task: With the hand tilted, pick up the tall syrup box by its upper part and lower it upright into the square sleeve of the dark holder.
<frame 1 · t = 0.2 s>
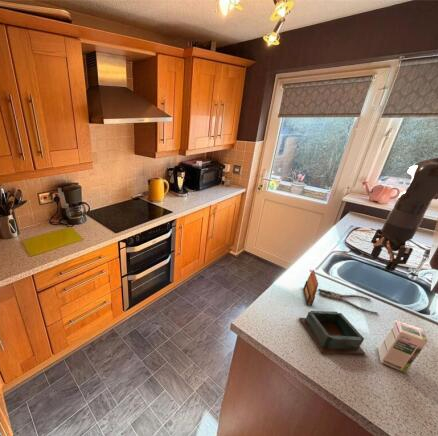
hand: (381, 263, 83), 25 cm above the worktop, tool pointing down, fingers open, 8 cm apart
pliers: (347, 302, 99), on the worktop
orange brown flat panel: (307, 297, 102), on the worktop
holder: (328, 336, 84), on the worktop
syrup box: (390, 360, 76), on the worktop
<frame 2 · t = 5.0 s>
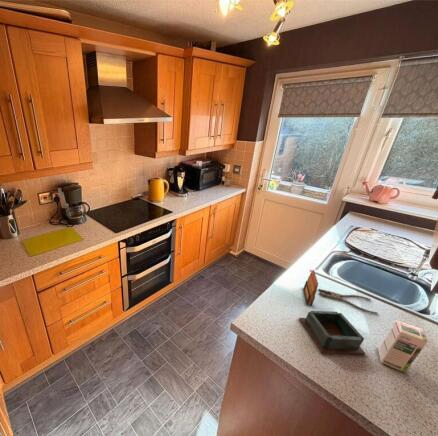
nothing on the worktop moved.
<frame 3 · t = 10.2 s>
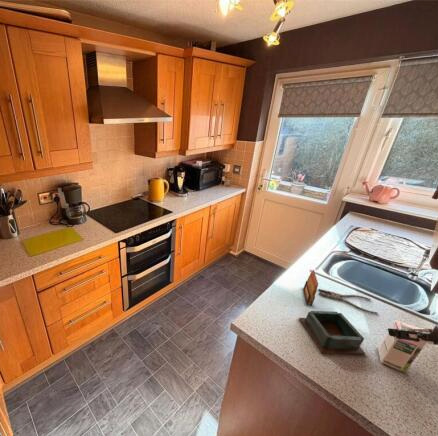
hand: (402, 332, 72), 12 cm above the worktop, tool tilted 45°, fingers closed on syrup box, 7 cm apart
syrup box: (390, 360, 76), on the worktop, touching gripper
everything else where it was.
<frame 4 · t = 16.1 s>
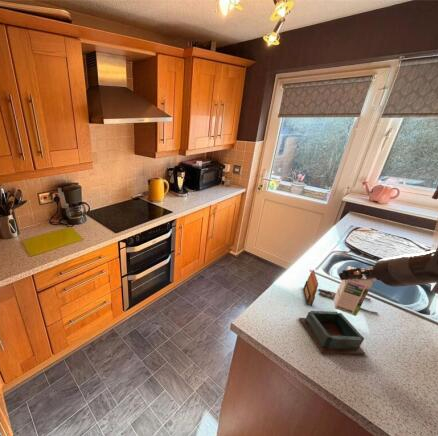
hand: (353, 277, 74), 26 cm above the worktop, tool tilted 45°, fingers closed on syrup box, 7 cm apart
syrup box: (343, 307, 78), point 15 cm above the worktop, touching gripper
everything else where it was.
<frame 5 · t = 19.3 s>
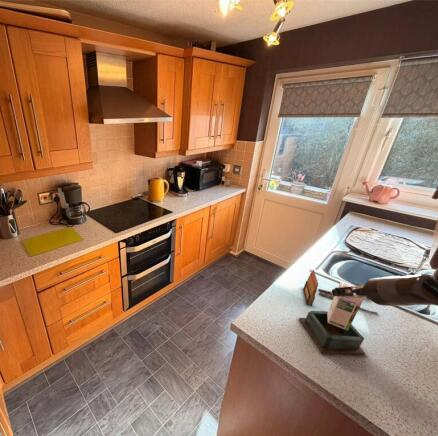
hand: (345, 293, 77), 19 cm above the worktop, tool tilted 45°, fingers closed on syrup box, 7 cm apart
syrup box: (336, 321, 81), point 8 cm above the worktop, touching gripper
everything else where it was.
when the fingers open (13 cm above the worktop, at t = 22.3 s): syrup box stays where it is, resting on holder.
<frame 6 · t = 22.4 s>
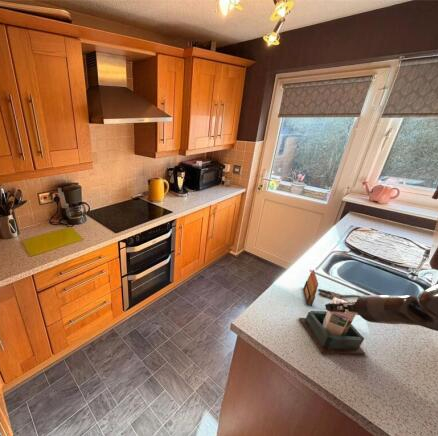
hand: (338, 307, 80), 13 cm above the worktop, tool tilted 45°, fingers open, 7 cm apart
syrup box: (330, 334, 84), point 1 cm above the worktop, touching holder
everything else where it was.
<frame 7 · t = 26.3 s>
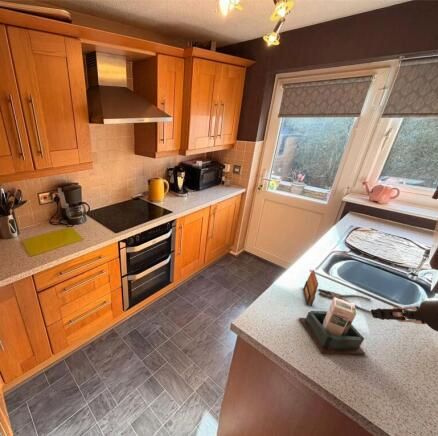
hand: (389, 314, 63), 24 cm above the worktop, tool tilted 45°, fingers open, 8 cm apart
nothing on the worktop moved.
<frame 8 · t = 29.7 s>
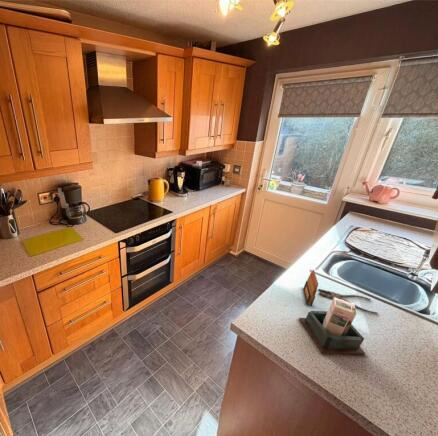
nothing on the worktop moved.
at the end: syrup box 0.2 cm off-centre on the holder, point 1.0 cm above the holder's base; syrup box tilted 0°; the gripper is holding nothing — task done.
